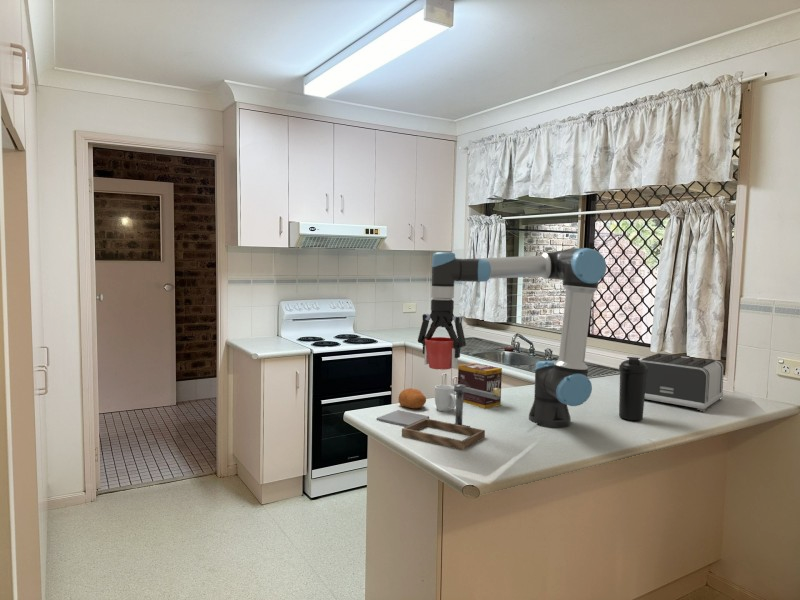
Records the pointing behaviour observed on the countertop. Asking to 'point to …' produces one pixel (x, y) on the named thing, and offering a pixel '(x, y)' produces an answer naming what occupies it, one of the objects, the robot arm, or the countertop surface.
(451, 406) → the mug
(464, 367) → the supplement box
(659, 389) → the toaster
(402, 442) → the countertop surface
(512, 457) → the countertop surface
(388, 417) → the plate
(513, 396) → the countertop surface
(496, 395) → the bar
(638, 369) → the water bottle
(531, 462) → the countertop surface
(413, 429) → the wooden tray
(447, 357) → the flower pot
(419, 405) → the potato
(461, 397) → the post
